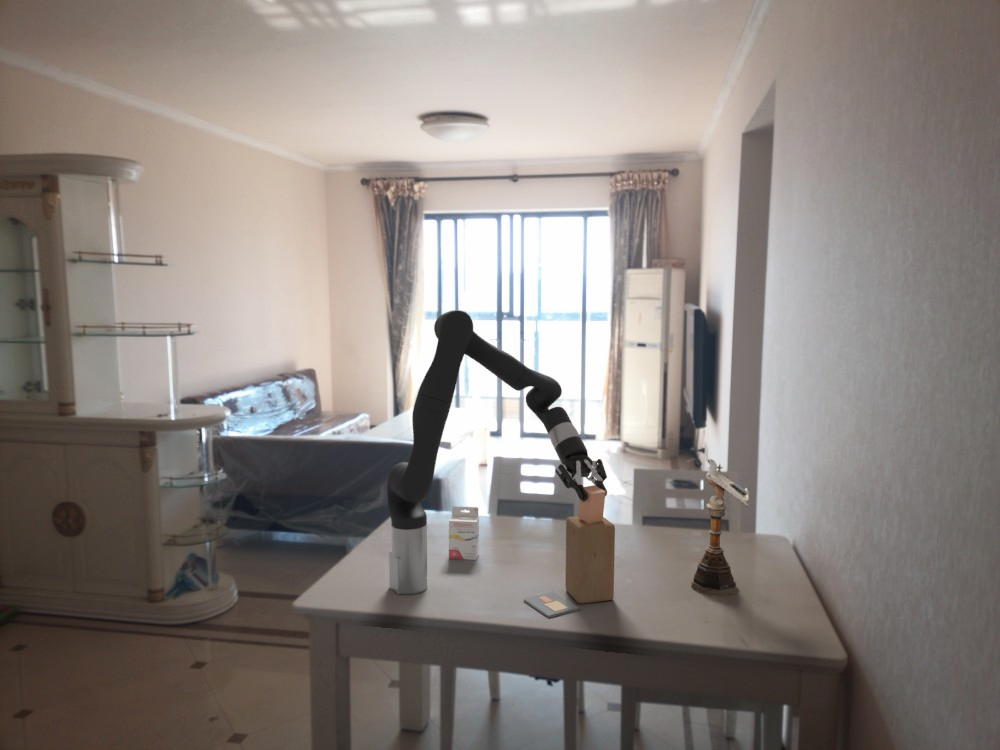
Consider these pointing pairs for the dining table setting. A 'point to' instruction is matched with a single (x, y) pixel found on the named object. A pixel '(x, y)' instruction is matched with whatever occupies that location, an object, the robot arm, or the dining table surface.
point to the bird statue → (717, 538)
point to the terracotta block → (592, 505)
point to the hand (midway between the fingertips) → (594, 497)
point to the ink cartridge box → (464, 533)
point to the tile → (551, 604)
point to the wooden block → (590, 560)
